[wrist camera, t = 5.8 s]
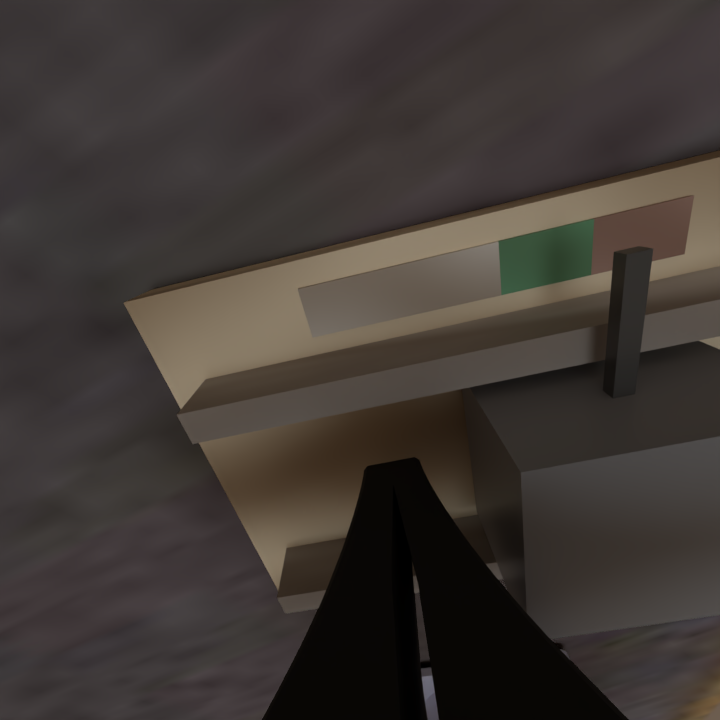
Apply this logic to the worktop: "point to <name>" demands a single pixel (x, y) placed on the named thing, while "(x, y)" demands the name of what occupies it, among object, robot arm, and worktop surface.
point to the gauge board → (414, 347)
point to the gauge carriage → (605, 477)
